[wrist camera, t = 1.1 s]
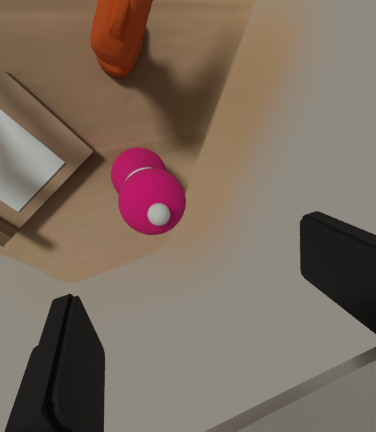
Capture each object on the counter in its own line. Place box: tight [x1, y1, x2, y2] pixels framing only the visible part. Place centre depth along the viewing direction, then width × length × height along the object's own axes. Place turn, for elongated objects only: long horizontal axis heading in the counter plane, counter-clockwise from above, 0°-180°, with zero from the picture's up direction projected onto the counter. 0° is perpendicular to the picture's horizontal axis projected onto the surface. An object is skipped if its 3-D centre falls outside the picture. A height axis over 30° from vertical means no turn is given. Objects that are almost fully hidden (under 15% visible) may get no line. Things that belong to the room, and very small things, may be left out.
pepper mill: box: [111, 148, 186, 235], centre depth 28 cm, size 7×7×20 cm
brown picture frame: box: [0, 71, 94, 247], centre depth 30 cm, size 16×12×5 cm
